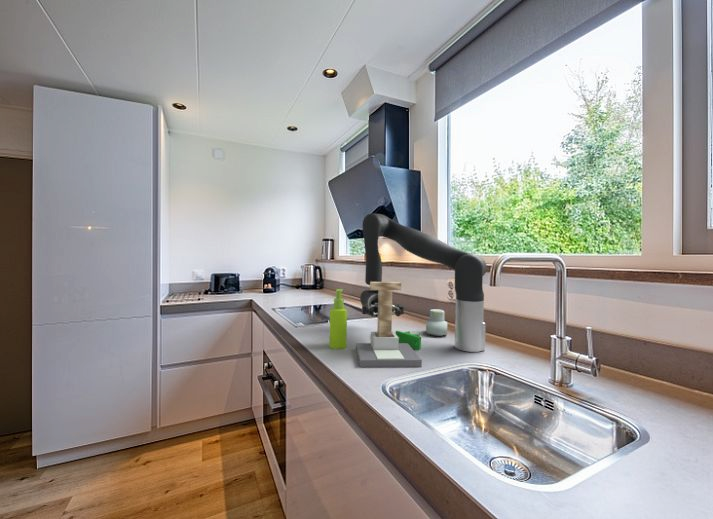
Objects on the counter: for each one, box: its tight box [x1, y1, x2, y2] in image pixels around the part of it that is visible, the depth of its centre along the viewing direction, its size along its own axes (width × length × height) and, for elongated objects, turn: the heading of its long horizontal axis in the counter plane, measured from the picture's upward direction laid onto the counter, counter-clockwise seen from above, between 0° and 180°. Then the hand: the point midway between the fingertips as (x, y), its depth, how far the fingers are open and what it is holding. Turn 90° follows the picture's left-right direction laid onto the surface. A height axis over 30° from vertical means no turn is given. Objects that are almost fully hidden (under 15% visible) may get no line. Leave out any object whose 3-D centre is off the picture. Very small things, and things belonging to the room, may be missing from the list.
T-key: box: [369, 281, 402, 337], centre depth 104 cm, size 10×4×21 cm, turn 95°
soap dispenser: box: [329, 288, 348, 350], centre depth 110 cm, size 6×7×20 cm
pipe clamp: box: [394, 330, 422, 351], centre depth 113 cm, size 11×4×5 cm, turn 39°
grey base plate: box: [355, 331, 423, 368], centre depth 99 cm, size 18×17×6 cm
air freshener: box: [425, 308, 448, 337], centre depth 129 cm, size 11×8×10 cm
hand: (385, 313), depth 102 cm, fingers open, 8 cm apart
